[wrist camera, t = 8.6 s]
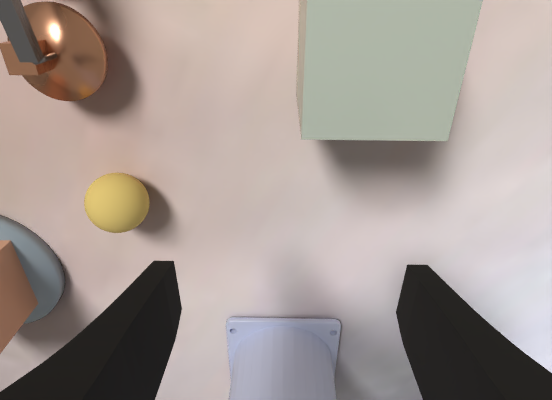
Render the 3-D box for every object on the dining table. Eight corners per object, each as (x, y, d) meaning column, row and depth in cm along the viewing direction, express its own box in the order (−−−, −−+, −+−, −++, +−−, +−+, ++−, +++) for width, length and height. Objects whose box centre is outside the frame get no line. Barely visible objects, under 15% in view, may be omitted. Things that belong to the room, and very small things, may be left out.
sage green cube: (401, 96, 19) (447, 141, 13) (296, 95, 19) (301, 139, 13) (423, -27, 16) (490, -31, 11) (300, -28, 16) (308, -32, 11)
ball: (160, 212, 22) (143, 245, 20) (106, 211, 22) (81, 244, 20) (151, 163, 21) (131, 191, 18) (94, 162, 21) (64, 190, 18)
